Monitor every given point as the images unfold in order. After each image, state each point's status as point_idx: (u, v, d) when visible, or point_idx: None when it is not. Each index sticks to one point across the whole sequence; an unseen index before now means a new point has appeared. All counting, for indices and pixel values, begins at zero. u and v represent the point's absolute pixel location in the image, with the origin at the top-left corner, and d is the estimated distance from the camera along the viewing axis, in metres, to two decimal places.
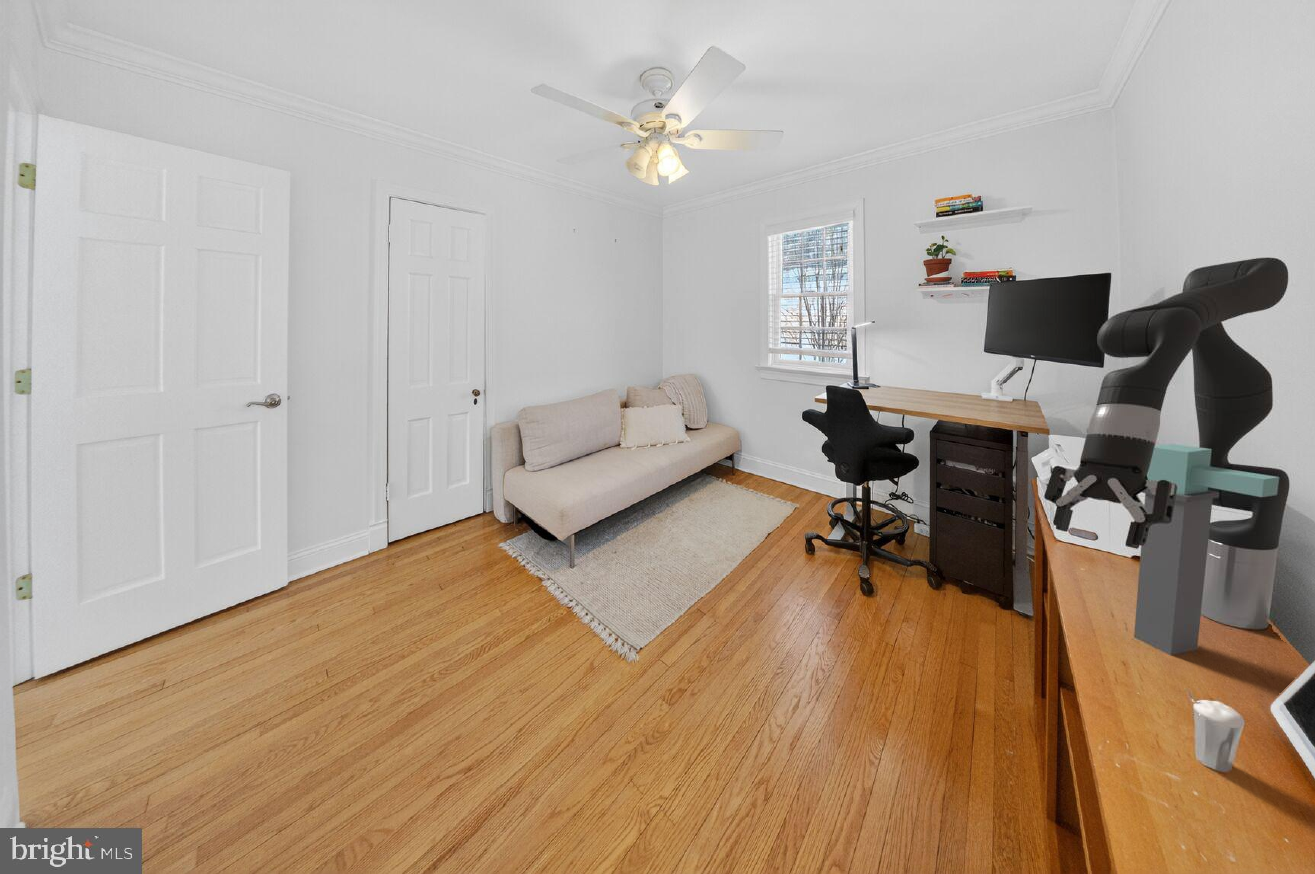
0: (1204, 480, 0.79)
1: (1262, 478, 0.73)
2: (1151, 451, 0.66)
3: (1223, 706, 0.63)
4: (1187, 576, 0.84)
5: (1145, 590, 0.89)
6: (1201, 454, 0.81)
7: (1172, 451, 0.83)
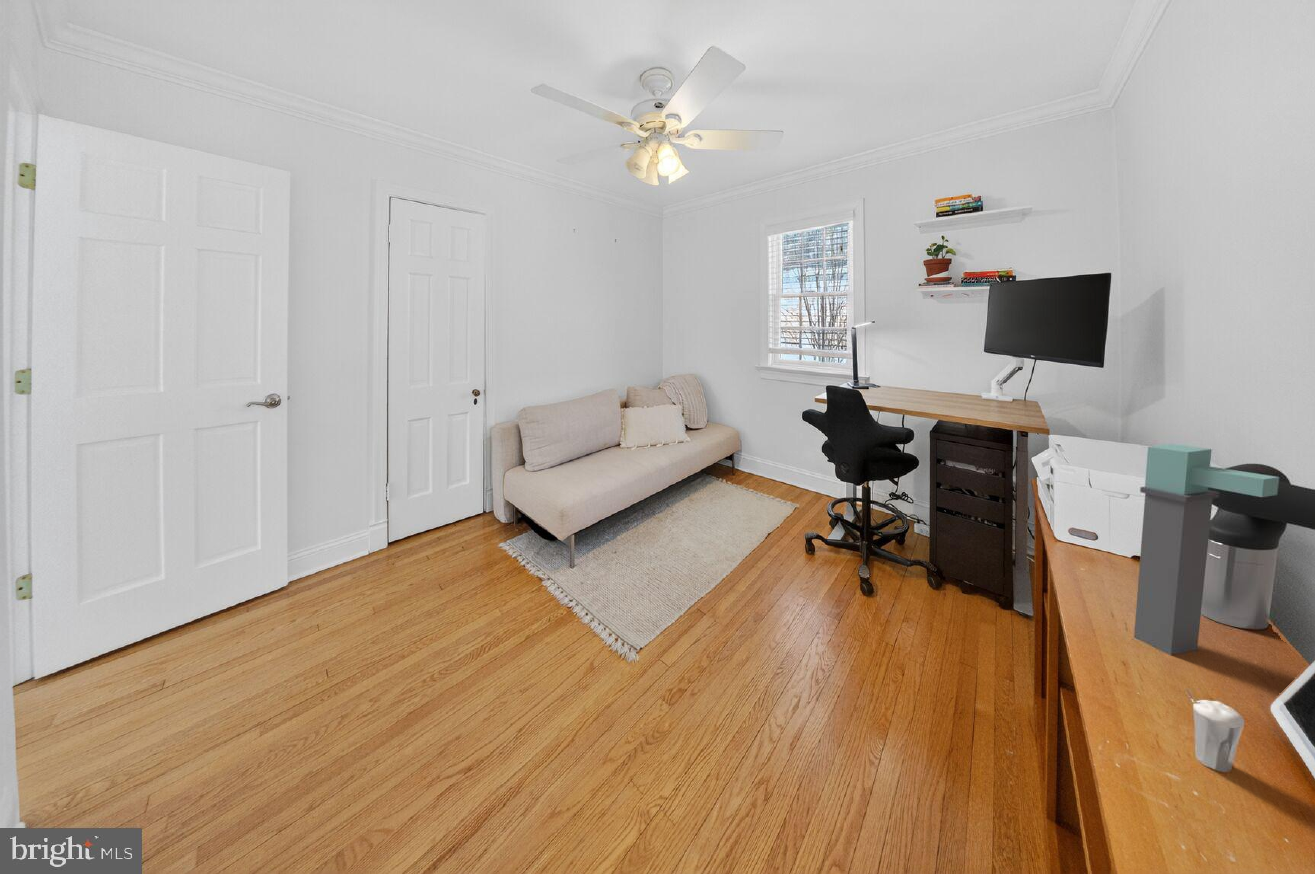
0: (1204, 480, 0.79)
1: (1262, 478, 0.73)
2: None
3: (1223, 706, 0.63)
4: (1187, 576, 0.84)
5: (1145, 590, 0.89)
6: (1201, 454, 0.81)
7: (1172, 451, 0.83)
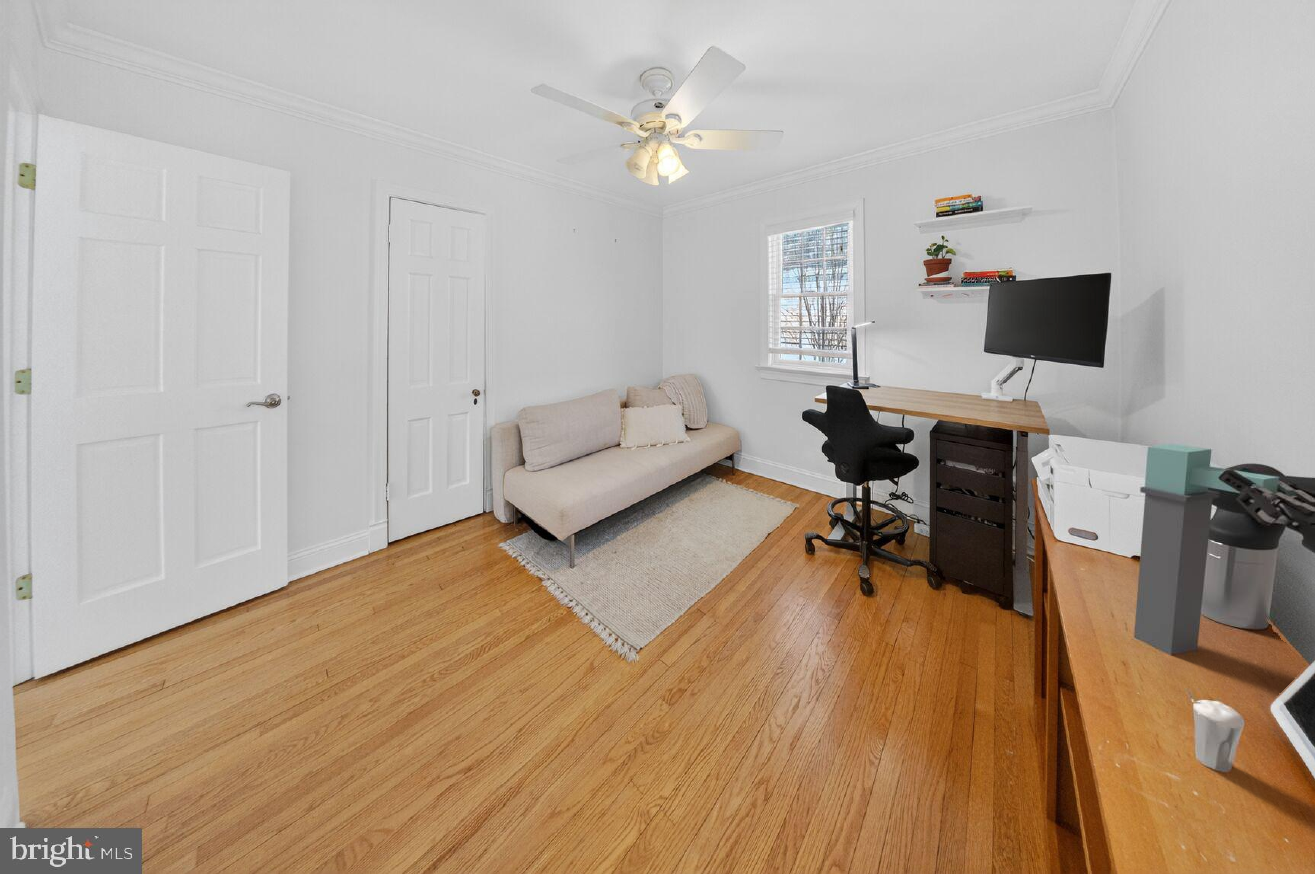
0: (1204, 480, 0.79)
1: (1262, 478, 0.73)
2: None
3: (1223, 706, 0.63)
4: (1187, 576, 0.84)
5: (1145, 590, 0.89)
6: (1201, 454, 0.81)
7: (1172, 451, 0.83)
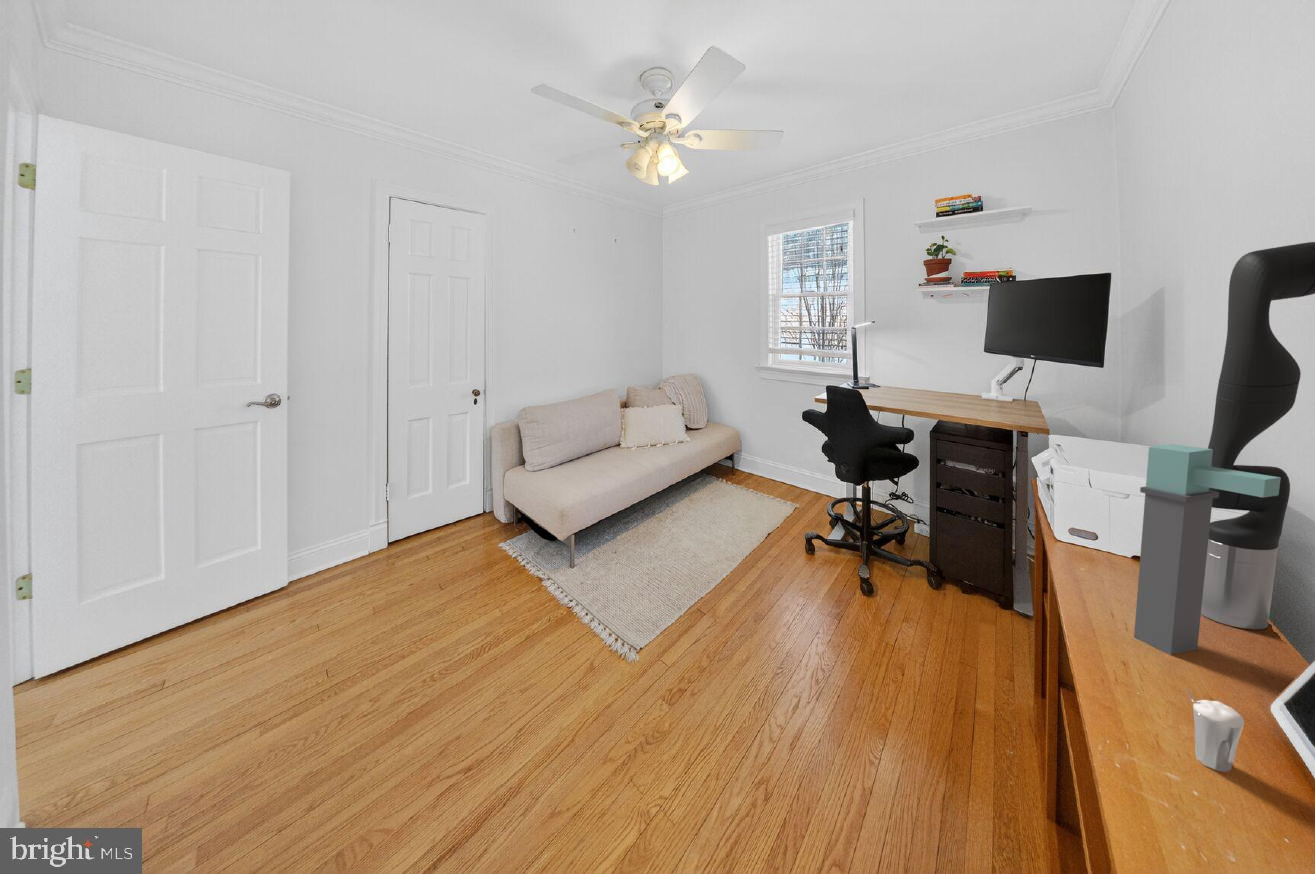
0: (1205, 481, 0.79)
1: (1263, 478, 0.72)
2: None
3: (1223, 706, 0.63)
4: (1187, 576, 0.84)
5: (1145, 590, 0.89)
6: (1202, 454, 0.81)
7: (1173, 451, 0.82)
